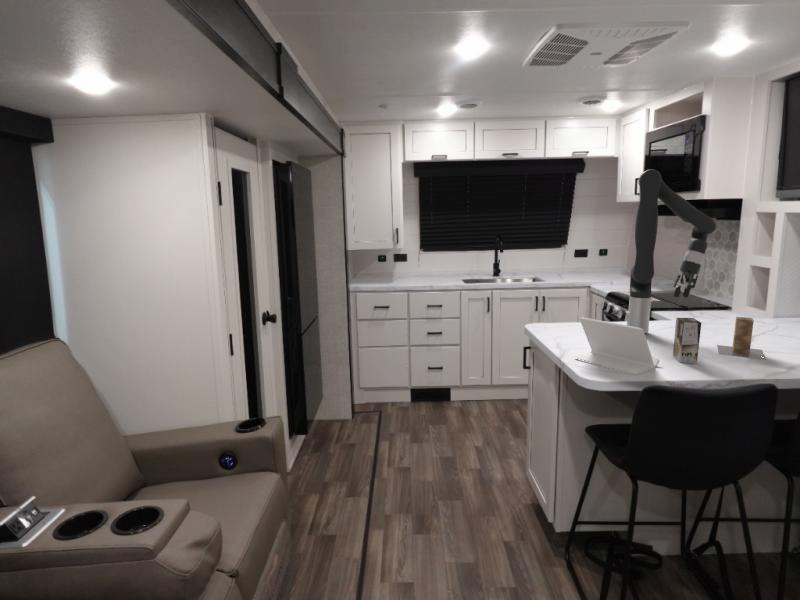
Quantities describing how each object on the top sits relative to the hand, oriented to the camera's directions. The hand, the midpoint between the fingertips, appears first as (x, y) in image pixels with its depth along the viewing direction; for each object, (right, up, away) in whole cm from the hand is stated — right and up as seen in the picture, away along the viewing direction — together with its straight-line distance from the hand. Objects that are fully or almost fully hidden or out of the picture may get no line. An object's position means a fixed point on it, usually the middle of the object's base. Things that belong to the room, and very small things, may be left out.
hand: (680, 297), depth 228 cm
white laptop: (-41, -26, -30) cm, 57 cm away
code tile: (+15, -23, -18) cm, 33 cm away
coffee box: (-13, -25, -27) cm, 39 cm away
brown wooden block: (+15, -22, -18) cm, 33 cm away
